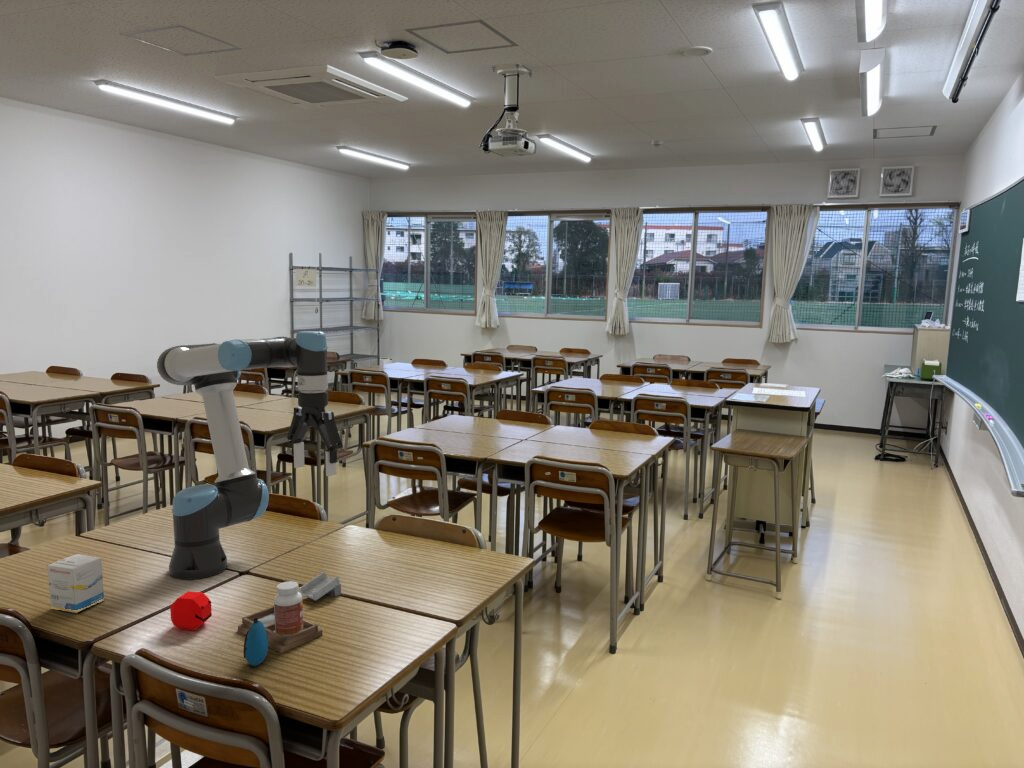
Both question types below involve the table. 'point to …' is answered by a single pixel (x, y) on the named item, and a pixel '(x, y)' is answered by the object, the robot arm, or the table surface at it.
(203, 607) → the ball
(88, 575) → the ink box
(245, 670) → the table surface
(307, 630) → the divided sorting tray
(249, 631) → the ornament
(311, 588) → the feeder chute
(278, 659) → the table surface
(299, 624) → the pill bottle
